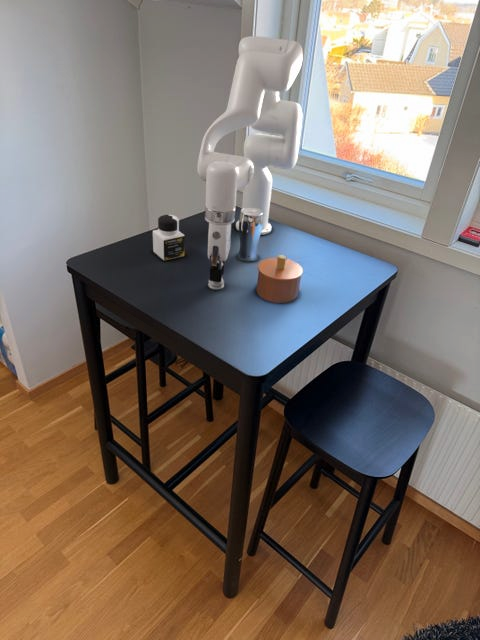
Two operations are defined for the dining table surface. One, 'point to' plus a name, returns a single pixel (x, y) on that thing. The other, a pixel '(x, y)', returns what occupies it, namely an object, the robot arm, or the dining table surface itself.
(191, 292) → the dining table surface
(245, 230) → the metal shaker cup
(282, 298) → the pot
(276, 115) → the robot arm
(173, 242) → the medicine bottle
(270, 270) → the pot lid
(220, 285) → the rook chess piece
